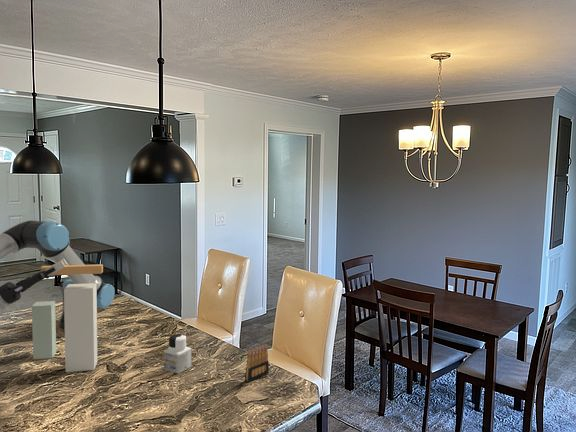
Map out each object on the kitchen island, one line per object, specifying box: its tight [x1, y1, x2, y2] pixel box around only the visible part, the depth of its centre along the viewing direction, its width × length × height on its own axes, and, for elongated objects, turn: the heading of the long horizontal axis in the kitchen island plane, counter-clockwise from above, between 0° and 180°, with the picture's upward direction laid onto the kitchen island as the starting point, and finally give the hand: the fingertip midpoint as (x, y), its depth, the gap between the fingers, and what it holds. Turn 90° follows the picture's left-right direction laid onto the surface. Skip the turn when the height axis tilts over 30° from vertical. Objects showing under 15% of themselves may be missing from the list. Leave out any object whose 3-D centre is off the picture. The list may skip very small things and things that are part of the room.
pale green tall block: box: [31, 300, 57, 360], centre depth 177 cm, size 6×7×22 cm
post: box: [64, 283, 98, 373], centre depth 168 cm, size 8×10×32 cm
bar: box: [40, 263, 104, 276], centre depth 165 cm, size 3×21×3 cm, turn 105°
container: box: [163, 333, 192, 375], centre depth 170 cm, size 8×8×13 cm
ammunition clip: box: [244, 343, 270, 383], centre depth 164 cm, size 11×2×12 cm, turn 138°
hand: (64, 262), depth 164 cm, fingers closed on bar, 3 cm apart
